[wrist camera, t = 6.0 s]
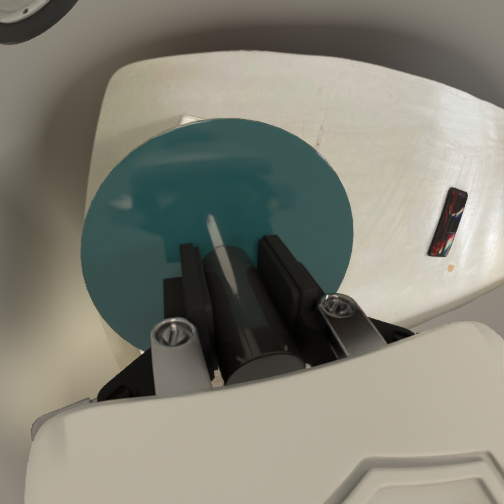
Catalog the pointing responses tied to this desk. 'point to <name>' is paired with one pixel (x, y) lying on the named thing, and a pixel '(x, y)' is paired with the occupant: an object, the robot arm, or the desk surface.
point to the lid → (215, 234)
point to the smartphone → (448, 223)
